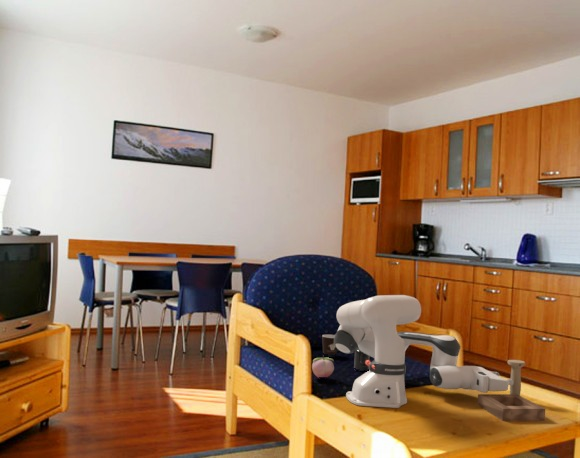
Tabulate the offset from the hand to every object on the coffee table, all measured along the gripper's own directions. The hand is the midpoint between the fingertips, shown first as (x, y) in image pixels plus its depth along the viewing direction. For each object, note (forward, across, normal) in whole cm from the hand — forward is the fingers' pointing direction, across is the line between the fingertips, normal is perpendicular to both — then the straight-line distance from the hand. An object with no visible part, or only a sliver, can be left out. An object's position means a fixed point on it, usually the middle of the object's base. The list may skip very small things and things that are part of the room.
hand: (505, 378), depth 199 cm
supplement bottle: (-45, -41, -9) cm, 62 cm away
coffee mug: (-52, -67, -10) cm, 85 cm away
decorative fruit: (-67, -26, -9) cm, 73 cm away
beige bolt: (+4, +1, -8) cm, 9 cm away
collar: (-7, +15, -8) cm, 19 cm away
